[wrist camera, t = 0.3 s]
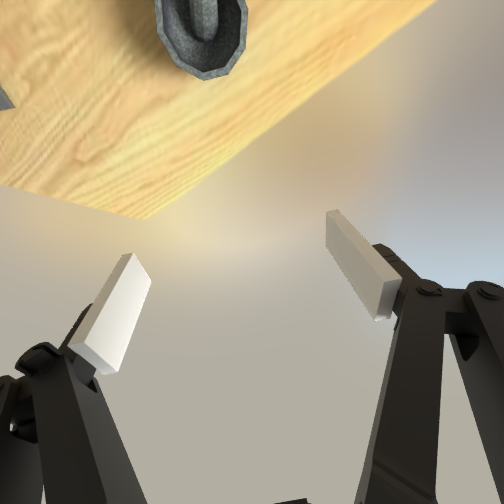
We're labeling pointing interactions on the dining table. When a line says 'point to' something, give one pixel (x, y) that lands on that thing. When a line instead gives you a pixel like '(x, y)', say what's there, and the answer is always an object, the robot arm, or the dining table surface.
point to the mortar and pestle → (203, 34)
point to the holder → (5, 101)
